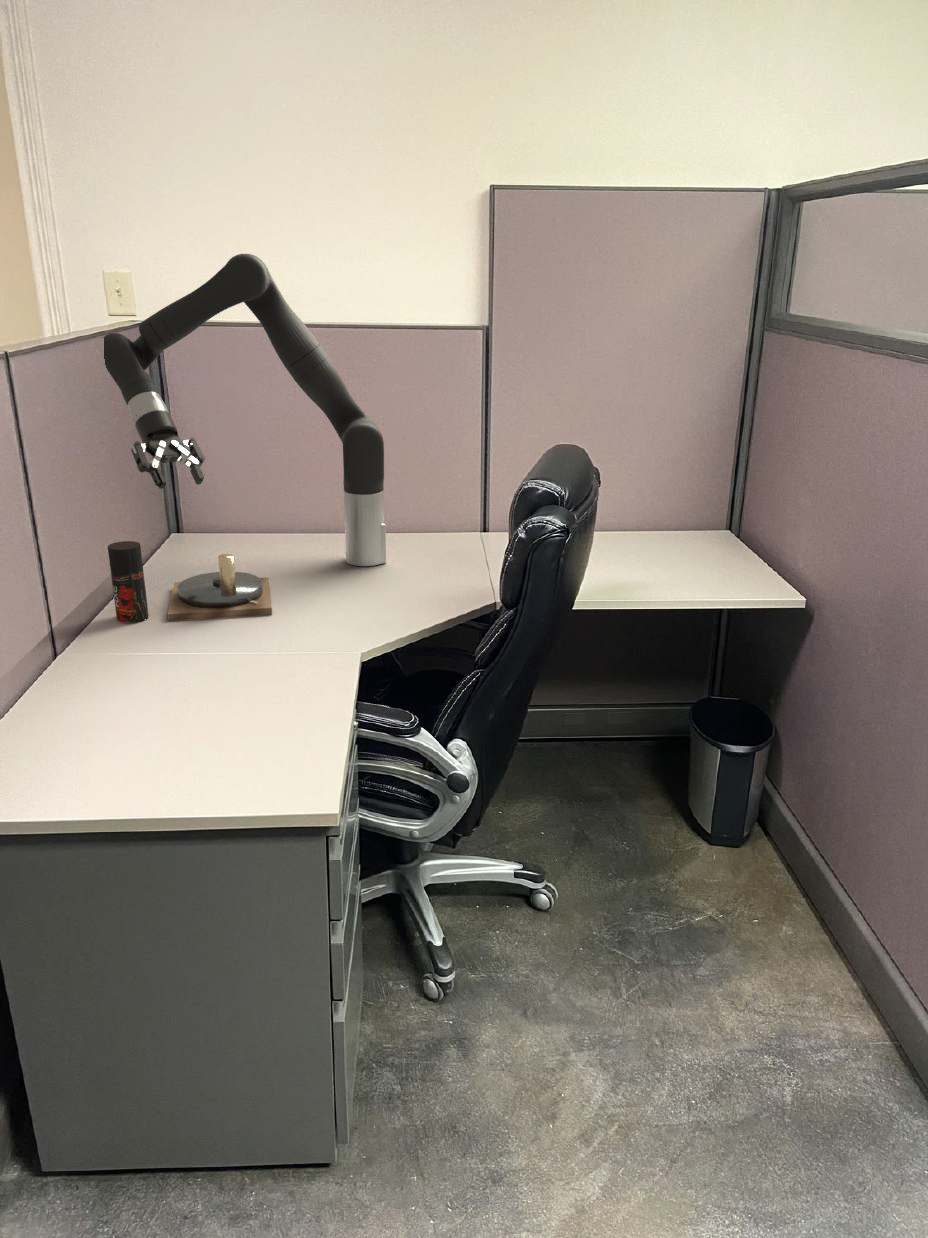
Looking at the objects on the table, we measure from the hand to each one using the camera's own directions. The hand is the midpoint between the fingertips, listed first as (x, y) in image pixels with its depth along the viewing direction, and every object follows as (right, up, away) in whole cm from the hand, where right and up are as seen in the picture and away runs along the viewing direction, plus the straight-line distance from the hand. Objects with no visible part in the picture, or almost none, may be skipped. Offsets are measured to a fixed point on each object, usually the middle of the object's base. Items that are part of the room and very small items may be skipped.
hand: (182, 484), depth 190 cm
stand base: (+8, -24, +2) cm, 25 cm away
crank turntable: (+8, -22, +1) cm, 24 cm away
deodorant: (-7, -28, -8) cm, 30 cm away
